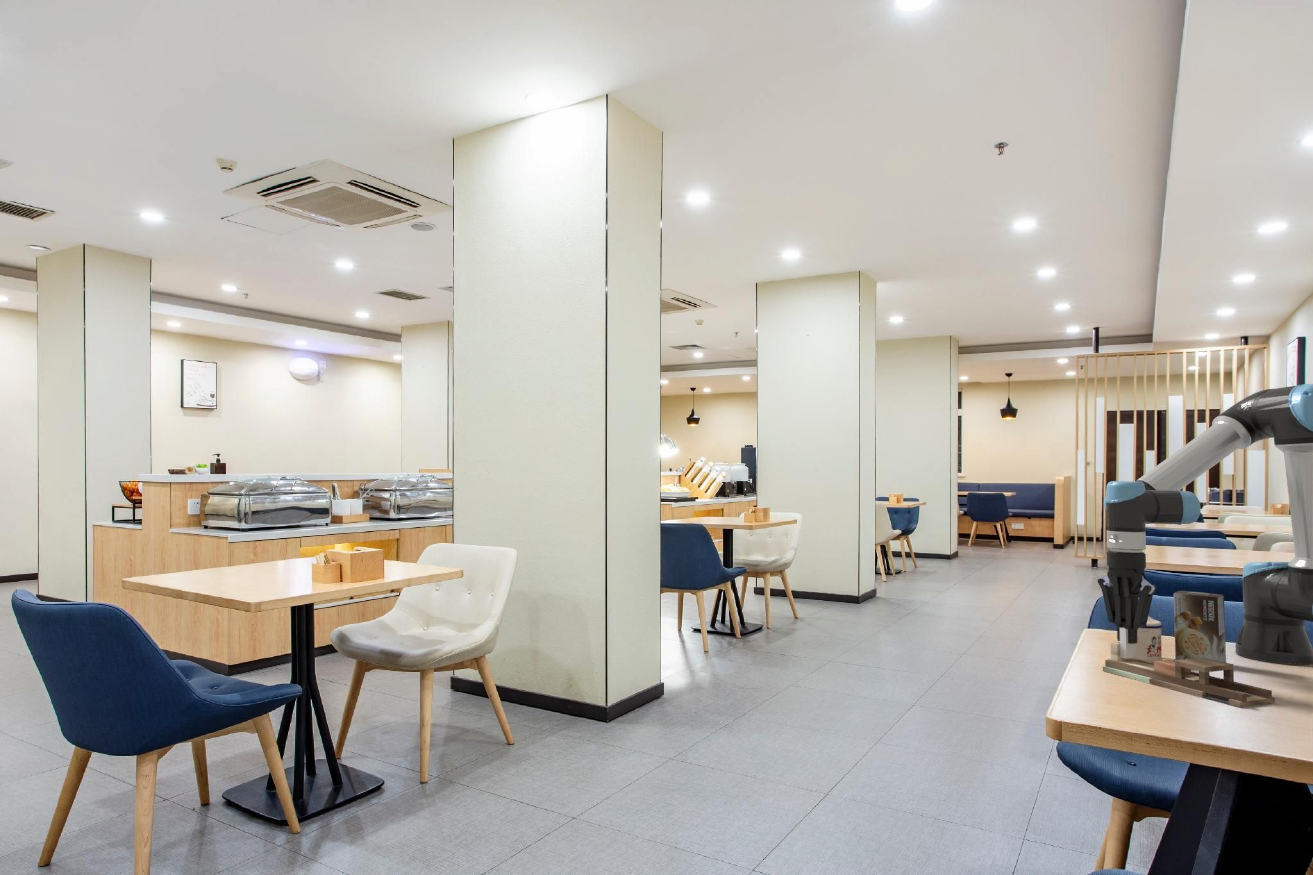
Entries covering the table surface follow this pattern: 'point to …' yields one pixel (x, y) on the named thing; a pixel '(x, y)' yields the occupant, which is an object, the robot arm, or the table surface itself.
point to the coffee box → (1199, 626)
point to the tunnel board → (1204, 688)
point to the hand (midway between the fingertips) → (1127, 657)
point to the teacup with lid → (1149, 641)
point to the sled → (1158, 666)
